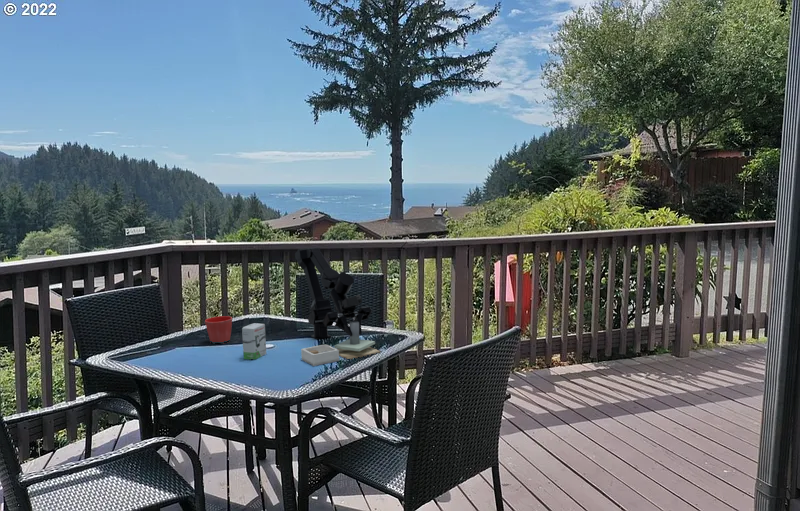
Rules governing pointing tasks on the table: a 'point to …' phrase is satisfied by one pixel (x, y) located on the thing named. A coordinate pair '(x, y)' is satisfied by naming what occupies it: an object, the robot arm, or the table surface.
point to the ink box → (254, 341)
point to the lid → (354, 340)
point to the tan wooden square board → (357, 353)
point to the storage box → (320, 355)
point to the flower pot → (219, 328)
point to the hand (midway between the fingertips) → (356, 334)
